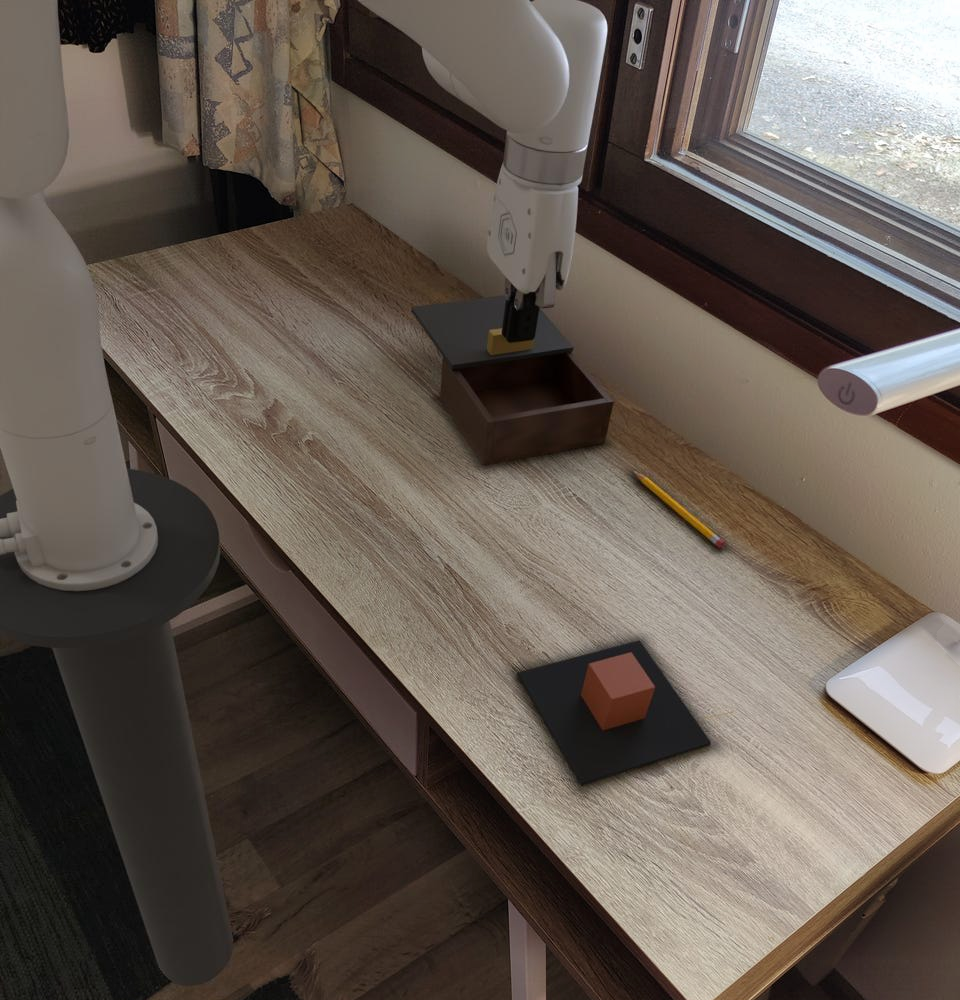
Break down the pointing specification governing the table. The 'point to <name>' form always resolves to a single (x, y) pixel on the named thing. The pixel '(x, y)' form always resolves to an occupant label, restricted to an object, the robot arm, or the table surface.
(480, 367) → the box
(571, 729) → the mat
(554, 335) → the sliding lid
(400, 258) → the table surface
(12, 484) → the robot arm
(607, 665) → the block
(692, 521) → the pencil
